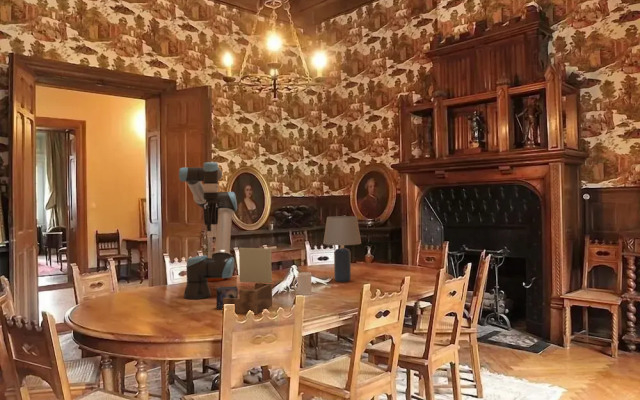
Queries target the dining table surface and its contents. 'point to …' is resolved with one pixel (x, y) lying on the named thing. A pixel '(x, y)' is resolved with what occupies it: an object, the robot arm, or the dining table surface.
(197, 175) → the robot arm
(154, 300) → the dining table surface
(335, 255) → the lamp
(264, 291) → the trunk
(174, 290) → the dining table surface
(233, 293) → the small box
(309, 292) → the mug
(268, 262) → the lid
